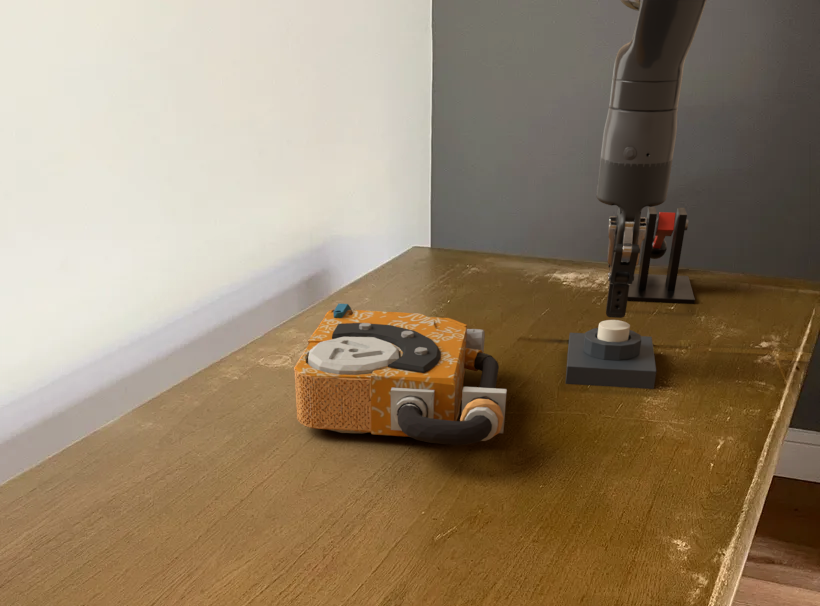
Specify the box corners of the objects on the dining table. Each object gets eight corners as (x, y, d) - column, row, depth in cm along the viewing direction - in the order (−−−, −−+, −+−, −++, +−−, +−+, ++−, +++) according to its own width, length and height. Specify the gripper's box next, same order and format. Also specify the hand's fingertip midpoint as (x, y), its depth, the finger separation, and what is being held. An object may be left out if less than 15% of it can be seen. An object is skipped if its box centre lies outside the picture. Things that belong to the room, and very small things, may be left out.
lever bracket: (618, 283, 145) (629, 200, 138) (686, 285, 143) (700, 202, 137) (619, 307, 135) (631, 219, 129) (693, 310, 134) (708, 221, 127)
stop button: (597, 333, 115) (598, 318, 114) (627, 334, 115) (629, 320, 114) (597, 343, 112) (598, 328, 111) (628, 345, 112) (630, 330, 111)
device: (517, 300, 111) (504, 398, 87) (511, 368, 116) (498, 480, 92) (326, 293, 115) (262, 385, 90) (329, 359, 119) (269, 465, 95)
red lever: (642, 261, 146) (644, 239, 146) (664, 262, 146) (666, 240, 146) (653, 232, 133) (656, 208, 132) (677, 233, 132) (679, 209, 132)
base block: (567, 349, 121) (571, 318, 119) (649, 353, 120) (654, 322, 117) (565, 384, 112) (568, 351, 109) (653, 389, 110) (659, 355, 108)
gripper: (677, 166, 96) (650, 335, 106) (669, 145, 107) (645, 300, 117) (601, 164, 97) (581, 332, 107) (600, 143, 108) (583, 297, 118)
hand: (615, 315), depth 112 cm, fingers closed
